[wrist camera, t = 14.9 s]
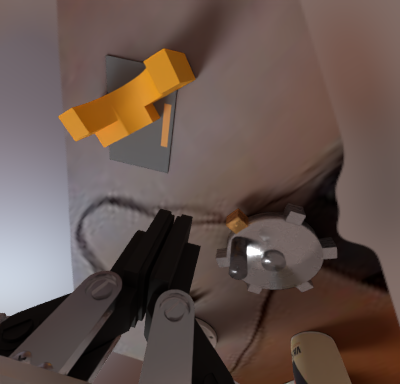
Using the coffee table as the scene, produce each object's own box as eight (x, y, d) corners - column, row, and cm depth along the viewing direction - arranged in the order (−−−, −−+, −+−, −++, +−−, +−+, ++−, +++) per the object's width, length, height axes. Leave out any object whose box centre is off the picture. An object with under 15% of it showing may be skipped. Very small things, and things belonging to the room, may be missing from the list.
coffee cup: (285, 326, 41) (300, 414, 30) (343, 330, 38) (379, 427, 28) (285, 354, 45) (297, 439, 35) (337, 359, 43) (366, 452, 32)
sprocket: (227, 284, 36) (224, 328, 30) (206, 211, 30) (196, 248, 24) (331, 281, 32) (352, 331, 26) (332, 196, 26) (359, 236, 20)
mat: (167, 172, 29) (167, 173, 29) (110, 158, 30) (109, 159, 30) (179, 70, 23) (178, 70, 23) (106, 55, 24) (105, 55, 23)
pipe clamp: (118, 139, 28) (86, 157, 22) (97, 106, 26) (57, 116, 21) (202, 95, 24) (189, 104, 18) (184, 53, 22) (163, 48, 17)
